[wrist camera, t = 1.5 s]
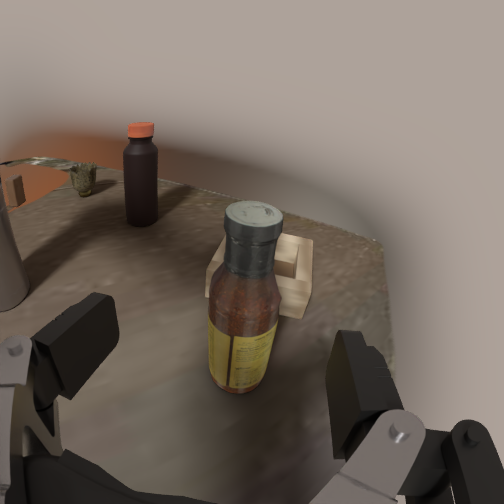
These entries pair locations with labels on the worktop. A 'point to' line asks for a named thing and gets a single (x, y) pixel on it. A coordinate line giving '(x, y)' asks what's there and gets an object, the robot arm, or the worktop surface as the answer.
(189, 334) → the worktop surface
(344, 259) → the worktop surface
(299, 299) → the socket block
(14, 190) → the wooden block
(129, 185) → the vinegar
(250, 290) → the sauce bottle
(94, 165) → the cup
